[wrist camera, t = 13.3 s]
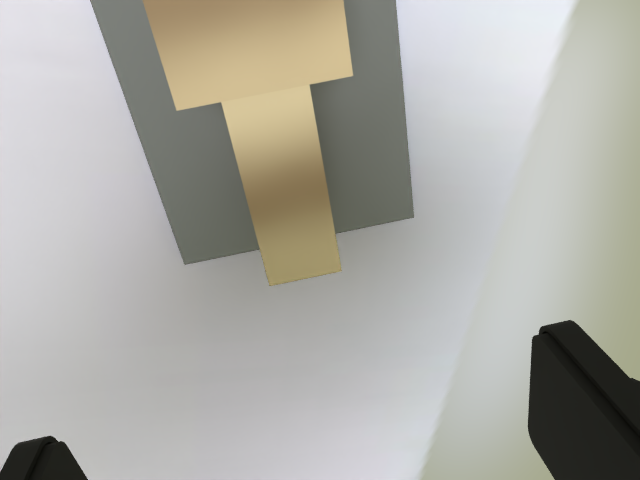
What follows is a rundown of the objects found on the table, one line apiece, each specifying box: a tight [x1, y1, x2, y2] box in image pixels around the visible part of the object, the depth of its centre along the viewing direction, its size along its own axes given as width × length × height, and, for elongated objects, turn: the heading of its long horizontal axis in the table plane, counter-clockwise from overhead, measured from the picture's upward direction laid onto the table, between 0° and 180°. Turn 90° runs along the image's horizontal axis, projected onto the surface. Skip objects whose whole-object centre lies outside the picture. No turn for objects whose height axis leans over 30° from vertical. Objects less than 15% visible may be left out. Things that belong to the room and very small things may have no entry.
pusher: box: [143, 0, 353, 286], centre depth 20 cm, size 15×6×6 cm, turn 10°
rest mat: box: [90, 0, 414, 265], centre depth 23 cm, size 20×13×1 cm, turn 10°
